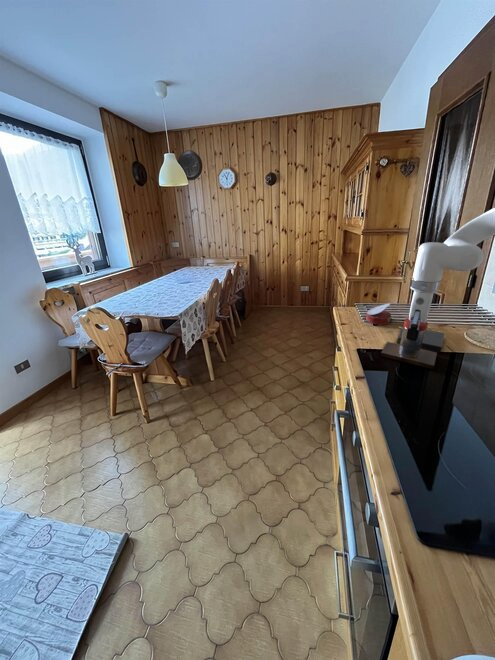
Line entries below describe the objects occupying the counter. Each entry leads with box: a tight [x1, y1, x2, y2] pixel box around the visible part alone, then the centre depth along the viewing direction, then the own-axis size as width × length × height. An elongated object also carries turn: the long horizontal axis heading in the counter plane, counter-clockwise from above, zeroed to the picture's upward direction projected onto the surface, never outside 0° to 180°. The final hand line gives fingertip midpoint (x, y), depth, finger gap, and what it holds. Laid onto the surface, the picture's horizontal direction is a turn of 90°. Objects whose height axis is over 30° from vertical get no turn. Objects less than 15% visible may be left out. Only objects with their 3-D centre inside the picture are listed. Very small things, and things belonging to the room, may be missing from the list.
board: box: [380, 341, 438, 370], centre depth 99 cm, size 16×9×2 cm, turn 54°
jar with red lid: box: [399, 317, 429, 357], centre depth 96 cm, size 7×7×12 cm
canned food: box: [365, 302, 392, 325], centre depth 124 cm, size 11×10×10 cm
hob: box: [396, 325, 445, 354], centre depth 108 cm, size 15×13×3 cm
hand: (413, 334), depth 95 cm, fingers closed on jar with red lid, 6 cm apart
